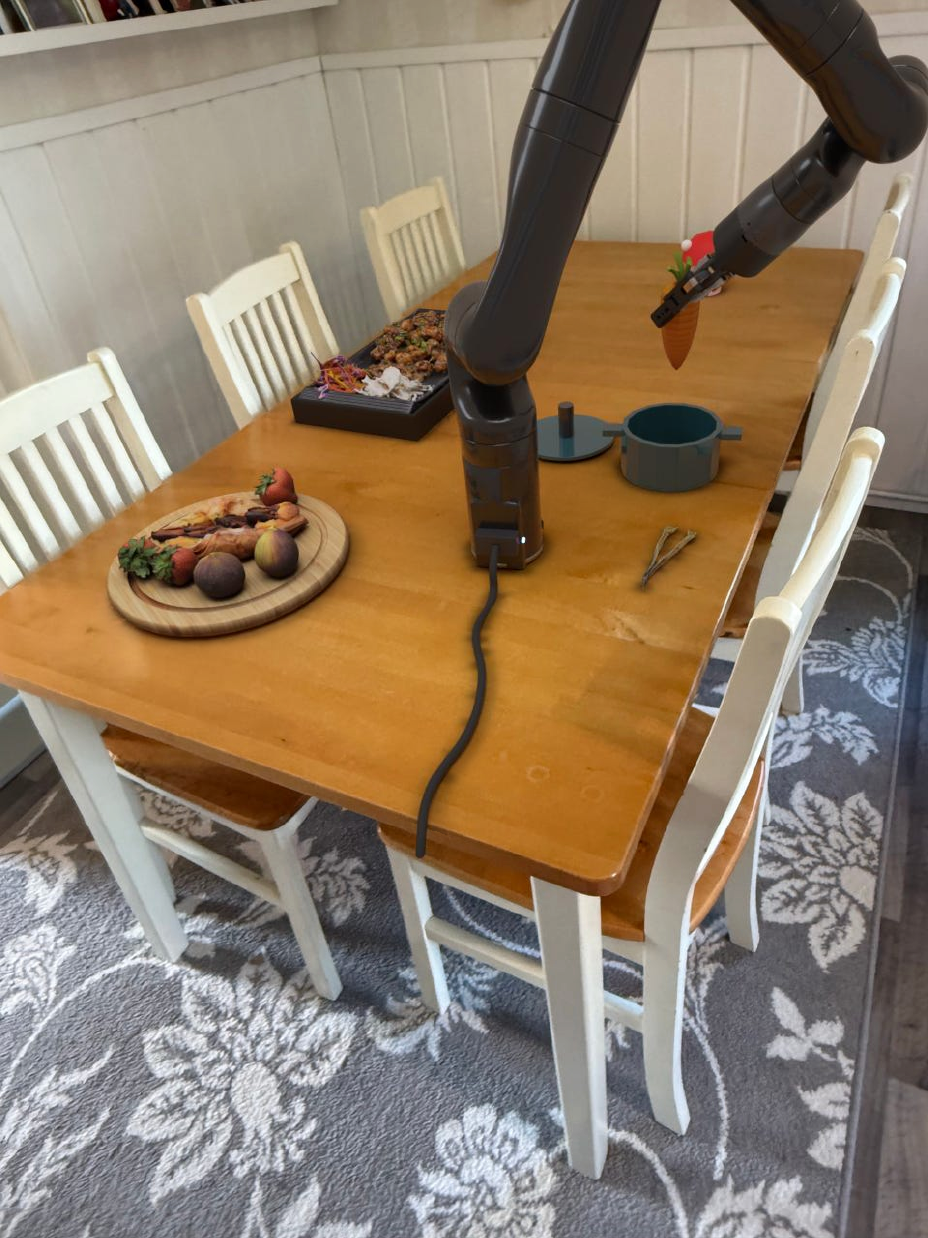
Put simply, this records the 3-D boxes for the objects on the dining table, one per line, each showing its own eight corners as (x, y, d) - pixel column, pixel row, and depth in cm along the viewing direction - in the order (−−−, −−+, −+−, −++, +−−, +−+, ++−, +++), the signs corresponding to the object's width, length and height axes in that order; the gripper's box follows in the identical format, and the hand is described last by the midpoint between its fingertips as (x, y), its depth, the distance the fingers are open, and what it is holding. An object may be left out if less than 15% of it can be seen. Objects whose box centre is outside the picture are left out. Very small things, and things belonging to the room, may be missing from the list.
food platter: (417, 441, 138) (409, 380, 131) (295, 422, 148) (281, 365, 141) (529, 339, 168) (526, 285, 162) (421, 329, 178) (415, 278, 172)
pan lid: (607, 466, 126) (608, 427, 122) (511, 462, 129) (508, 425, 125) (619, 421, 136) (619, 385, 133) (529, 419, 140) (527, 383, 136)
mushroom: (668, 290, 182) (671, 230, 175) (710, 278, 186) (715, 219, 178) (699, 302, 175) (704, 241, 167) (742, 290, 178) (749, 229, 170)
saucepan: (737, 495, 116) (742, 448, 112) (597, 488, 121) (597, 444, 116) (738, 448, 126) (743, 404, 122) (609, 444, 131) (609, 401, 127)
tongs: (632, 585, 102) (633, 571, 101) (666, 533, 111) (667, 520, 110) (666, 593, 101) (667, 579, 99) (697, 540, 110) (699, 526, 108)
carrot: (695, 376, 113) (704, 258, 104) (657, 377, 114) (662, 260, 105) (695, 361, 117) (703, 246, 107) (657, 362, 118) (662, 248, 108)
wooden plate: (249, 483, 132) (235, 434, 127) (399, 541, 115) (390, 488, 110) (64, 587, 114) (39, 535, 109) (210, 676, 97) (189, 619, 92)
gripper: (772, 183, 102) (676, 275, 116) (715, 214, 94) (619, 309, 108) (809, 235, 102) (709, 320, 116) (755, 270, 94) (654, 357, 108)
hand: (666, 314), depth 112 cm, fingers closed on carrot, 4 cm apart
